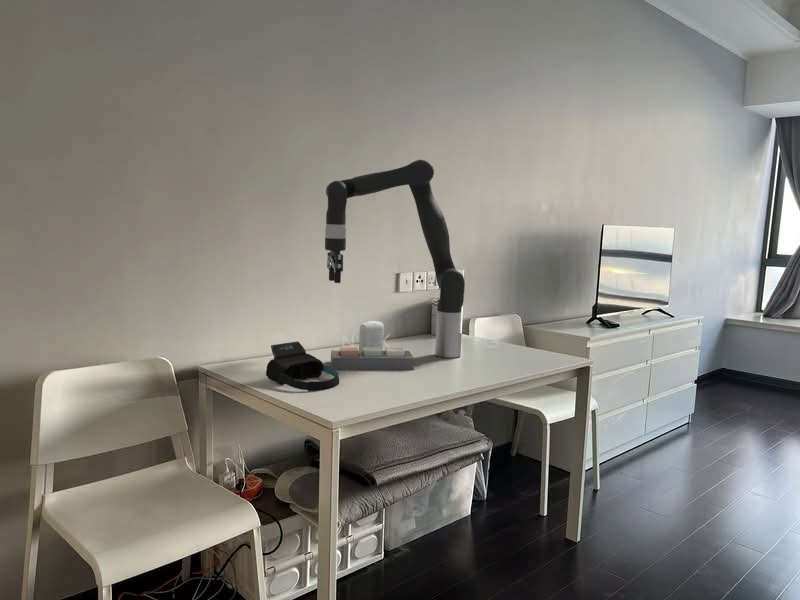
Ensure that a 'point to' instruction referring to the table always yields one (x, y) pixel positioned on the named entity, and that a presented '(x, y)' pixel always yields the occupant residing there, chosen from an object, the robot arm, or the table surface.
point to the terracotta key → (349, 351)
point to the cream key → (394, 352)
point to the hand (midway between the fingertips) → (334, 281)
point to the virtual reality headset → (298, 368)
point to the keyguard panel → (372, 361)
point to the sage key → (372, 351)
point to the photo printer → (371, 335)
